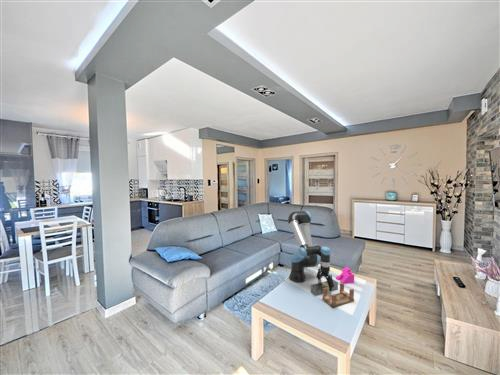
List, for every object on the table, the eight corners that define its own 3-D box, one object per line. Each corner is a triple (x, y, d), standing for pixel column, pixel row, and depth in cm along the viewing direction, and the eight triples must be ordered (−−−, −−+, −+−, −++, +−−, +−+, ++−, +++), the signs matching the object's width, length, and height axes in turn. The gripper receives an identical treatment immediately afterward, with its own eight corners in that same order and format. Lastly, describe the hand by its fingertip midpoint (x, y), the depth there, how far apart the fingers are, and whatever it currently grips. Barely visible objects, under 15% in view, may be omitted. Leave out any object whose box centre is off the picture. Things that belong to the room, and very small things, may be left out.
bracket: (346, 277, 202) (347, 267, 201) (354, 282, 192) (354, 272, 191) (335, 278, 200) (335, 268, 199) (342, 284, 190) (342, 273, 189)
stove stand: (322, 299, 166) (322, 288, 166) (342, 293, 175) (343, 282, 174) (332, 308, 156) (332, 296, 156) (354, 301, 165) (354, 289, 164)
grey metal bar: (315, 295, 172) (315, 288, 171) (310, 291, 178) (310, 284, 177) (337, 289, 181) (338, 282, 181) (332, 285, 187) (332, 279, 187)
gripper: (312, 261, 187) (311, 284, 189) (332, 272, 165) (331, 299, 167) (319, 259, 190) (318, 282, 192) (339, 270, 168) (338, 296, 170)
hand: (324, 290), depth 179 cm, fingers open, 11 cm apart
